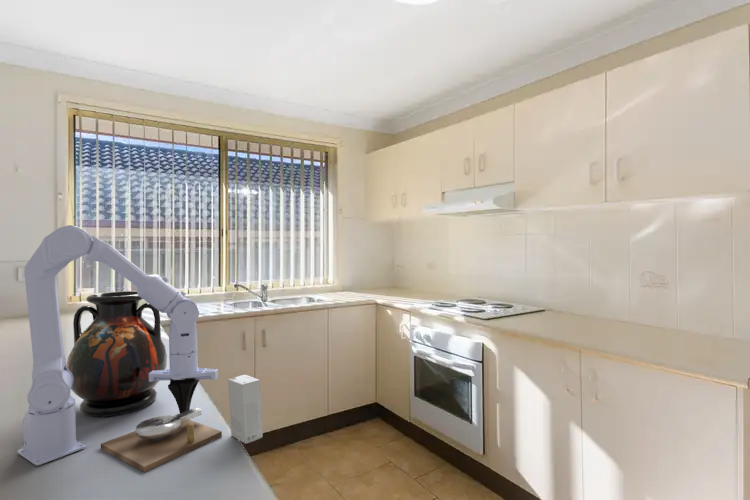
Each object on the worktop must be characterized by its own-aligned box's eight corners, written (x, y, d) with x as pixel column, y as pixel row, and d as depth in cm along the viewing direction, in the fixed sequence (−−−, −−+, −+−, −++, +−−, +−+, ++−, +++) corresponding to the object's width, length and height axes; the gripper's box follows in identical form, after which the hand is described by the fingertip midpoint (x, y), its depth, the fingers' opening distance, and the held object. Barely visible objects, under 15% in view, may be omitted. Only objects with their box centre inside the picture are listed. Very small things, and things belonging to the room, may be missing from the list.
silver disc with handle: (150, 442, 79) (149, 433, 79) (128, 432, 83) (127, 423, 83) (210, 417, 90) (209, 409, 90) (187, 410, 94) (187, 402, 94)
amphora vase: (48, 429, 91) (45, 301, 91) (87, 394, 112) (85, 291, 112) (157, 417, 97) (154, 297, 97) (175, 386, 118) (173, 287, 117)
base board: (100, 448, 82) (100, 426, 82) (176, 419, 96) (176, 399, 95) (144, 472, 73) (144, 446, 73) (221, 436, 87) (221, 414, 87)
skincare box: (263, 437, 86) (262, 379, 86) (243, 445, 83) (242, 384, 83) (248, 428, 90) (247, 373, 90) (228, 435, 87) (227, 378, 87)
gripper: (141, 357, 89) (142, 420, 89) (210, 355, 90) (211, 418, 90) (156, 348, 96) (158, 407, 96) (220, 347, 97) (221, 405, 97)
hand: (184, 411), depth 94 cm, fingers closed
